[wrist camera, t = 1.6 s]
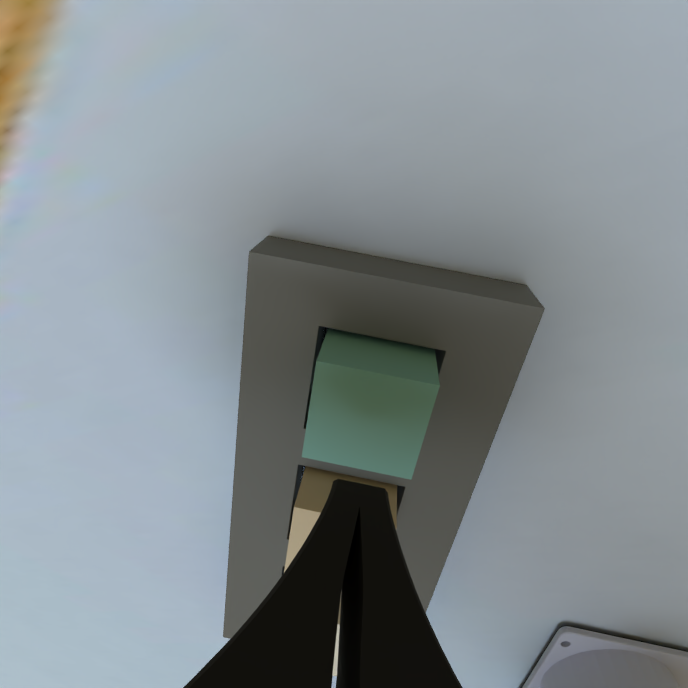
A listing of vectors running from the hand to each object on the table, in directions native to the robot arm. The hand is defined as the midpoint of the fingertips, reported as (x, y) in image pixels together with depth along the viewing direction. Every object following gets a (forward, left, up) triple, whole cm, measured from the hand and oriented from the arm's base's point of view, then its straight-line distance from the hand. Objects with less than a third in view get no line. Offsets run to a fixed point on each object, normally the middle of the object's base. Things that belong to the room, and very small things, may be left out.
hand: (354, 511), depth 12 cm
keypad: (-7, 0, -8) cm, 11 cm away
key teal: (0, 0, -6) cm, 7 cm away
